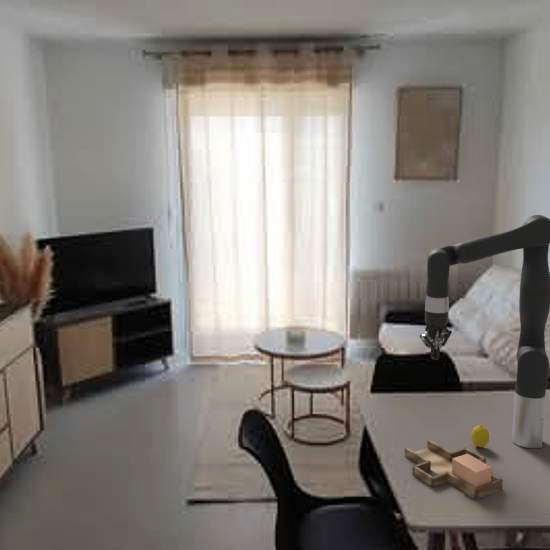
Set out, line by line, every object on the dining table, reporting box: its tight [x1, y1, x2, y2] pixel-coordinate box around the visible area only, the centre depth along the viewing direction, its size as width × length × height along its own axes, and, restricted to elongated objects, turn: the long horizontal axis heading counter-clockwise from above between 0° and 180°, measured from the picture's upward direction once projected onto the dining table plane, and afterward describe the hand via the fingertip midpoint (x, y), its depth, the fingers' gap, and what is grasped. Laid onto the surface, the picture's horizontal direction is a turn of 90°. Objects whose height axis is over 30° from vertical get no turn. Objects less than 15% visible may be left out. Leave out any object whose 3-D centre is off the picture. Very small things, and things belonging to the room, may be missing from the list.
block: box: [452, 454, 492, 488], centre depth 171 cm, size 9×6×7 cm, turn 28°
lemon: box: [470, 424, 490, 448], centre depth 194 cm, size 6×6×8 cm
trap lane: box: [404, 439, 504, 501], centre depth 180 cm, size 29×22×3 cm
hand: (435, 358), depth 200 cm, fingers closed
